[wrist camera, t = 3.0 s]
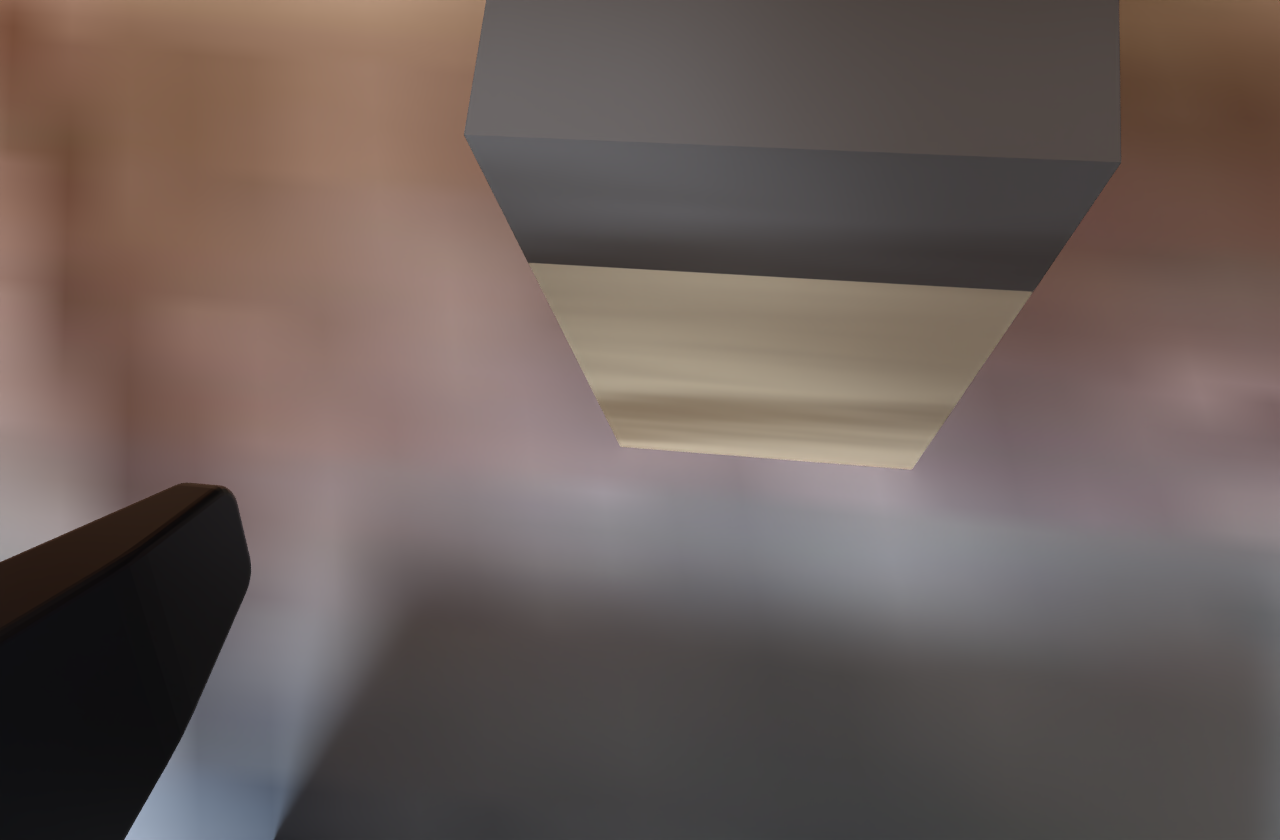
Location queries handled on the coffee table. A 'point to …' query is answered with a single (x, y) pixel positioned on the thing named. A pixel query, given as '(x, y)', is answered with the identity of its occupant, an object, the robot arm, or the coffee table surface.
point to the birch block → (792, 201)
